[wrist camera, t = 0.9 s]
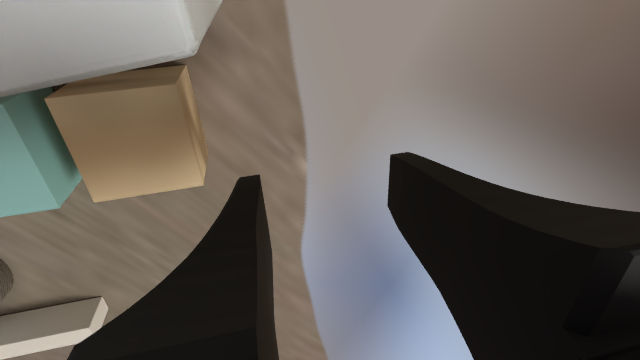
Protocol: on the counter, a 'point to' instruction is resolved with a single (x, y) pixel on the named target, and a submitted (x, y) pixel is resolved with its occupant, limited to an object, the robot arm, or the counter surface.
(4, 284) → the aluminium part
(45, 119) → the teal block
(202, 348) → the robot arm
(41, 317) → the frame
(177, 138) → the oak block
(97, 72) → the small box
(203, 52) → the counter surface
